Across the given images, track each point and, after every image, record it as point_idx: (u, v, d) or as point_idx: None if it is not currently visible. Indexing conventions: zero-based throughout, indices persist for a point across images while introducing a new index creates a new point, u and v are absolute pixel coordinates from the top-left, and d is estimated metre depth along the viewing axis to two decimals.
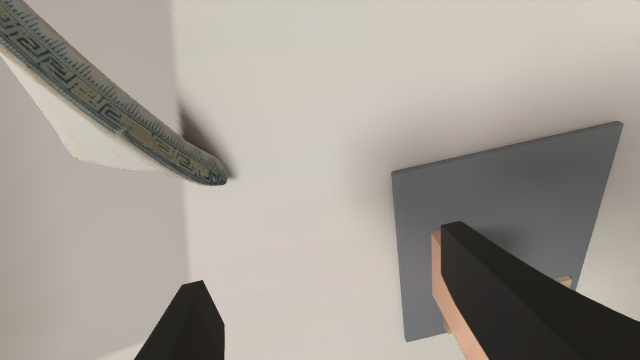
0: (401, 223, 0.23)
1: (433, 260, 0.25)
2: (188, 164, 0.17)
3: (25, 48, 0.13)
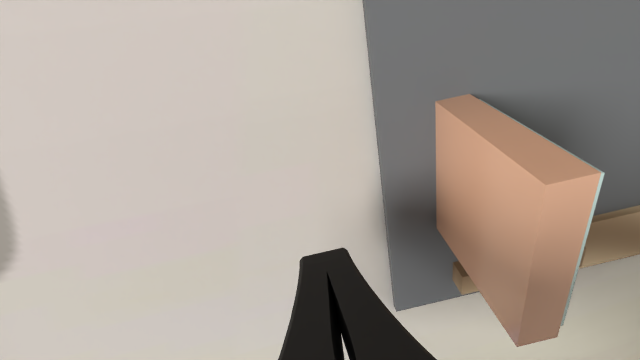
0: (380, 76, 0.12)
1: (439, 157, 0.14)
2: None
3: None
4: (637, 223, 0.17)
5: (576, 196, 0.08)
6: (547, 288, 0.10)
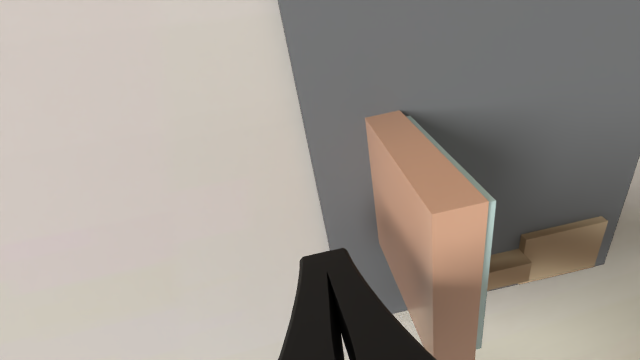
0: (305, 93, 0.12)
1: (372, 173, 0.14)
2: None
3: None
4: (585, 237, 0.17)
5: (467, 224, 0.08)
6: (454, 313, 0.10)
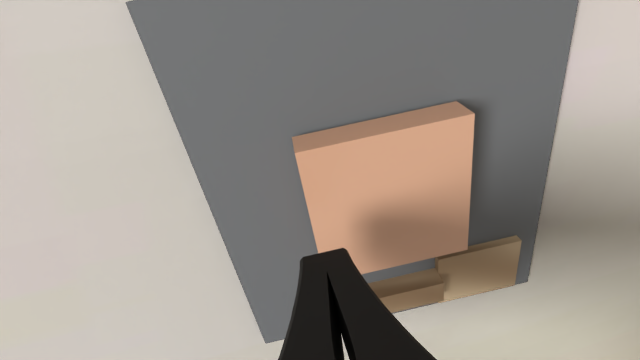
0: (182, 119, 0.12)
1: (316, 206, 0.13)
2: None
3: None
4: (500, 257, 0.17)
5: None
6: None
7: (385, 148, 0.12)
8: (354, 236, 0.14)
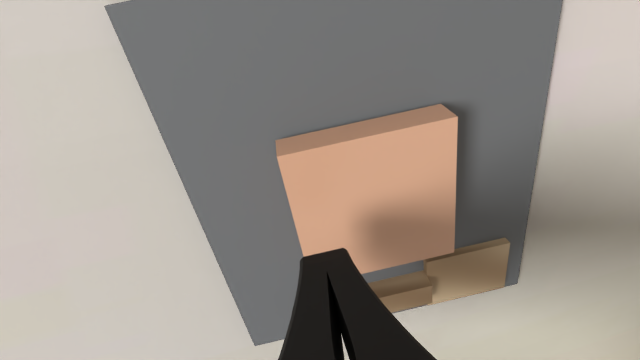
0: (164, 123, 0.12)
1: (300, 209, 0.13)
2: None
3: None
4: (489, 259, 0.17)
5: None
6: None
7: (368, 151, 0.12)
8: (339, 239, 0.14)
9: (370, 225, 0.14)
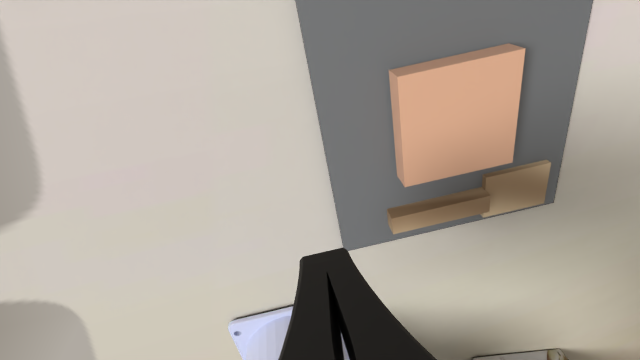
0: (312, 55, 0.17)
1: (406, 120, 0.17)
2: None
3: None
4: (534, 176, 0.22)
5: None
6: None
7: (460, 74, 0.17)
8: (430, 147, 0.18)
9: (454, 136, 0.18)
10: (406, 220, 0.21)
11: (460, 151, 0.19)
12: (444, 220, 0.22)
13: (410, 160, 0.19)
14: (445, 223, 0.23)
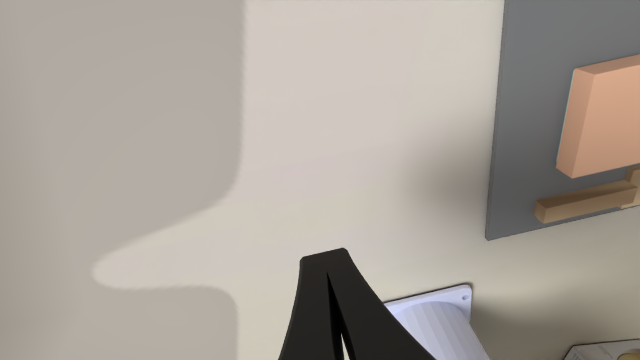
0: (509, 54, 0.18)
1: (591, 115, 0.19)
2: None
3: None
4: None
5: None
6: None
7: None
8: (604, 140, 0.20)
9: (627, 130, 0.20)
10: (558, 210, 0.23)
11: (629, 144, 0.20)
12: (591, 210, 0.23)
13: (583, 153, 0.20)
14: (583, 214, 0.25)
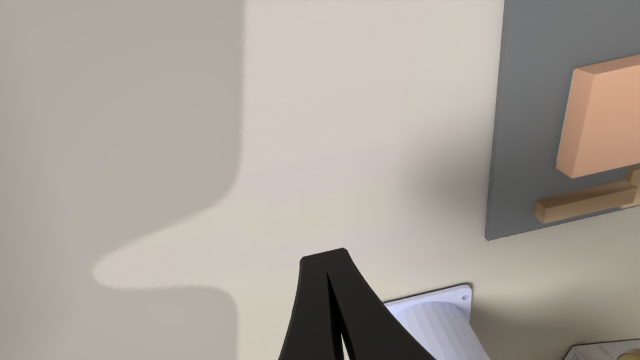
0: (509, 54, 0.18)
1: (591, 115, 0.19)
2: None
3: None
4: None
5: None
6: None
7: None
8: (604, 140, 0.20)
9: (627, 130, 0.20)
10: (558, 210, 0.23)
11: (629, 144, 0.20)
12: (591, 210, 0.23)
13: (583, 153, 0.20)
14: (583, 214, 0.25)
